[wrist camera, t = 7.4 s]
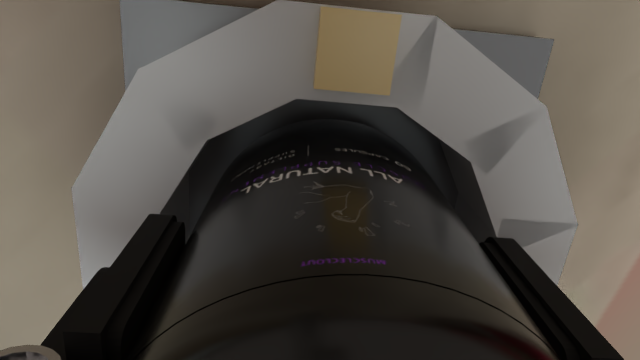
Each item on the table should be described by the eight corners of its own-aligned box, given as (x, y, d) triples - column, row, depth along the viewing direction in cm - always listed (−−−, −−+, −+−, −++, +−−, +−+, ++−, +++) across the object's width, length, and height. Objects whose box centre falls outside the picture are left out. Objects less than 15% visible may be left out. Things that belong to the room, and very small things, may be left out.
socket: (122, -16, 12) (29, -28, 8) (547, 29, 13) (663, 38, 9) (143, 339, 17) (90, 450, 13) (460, 354, 18) (510, 464, 14)
